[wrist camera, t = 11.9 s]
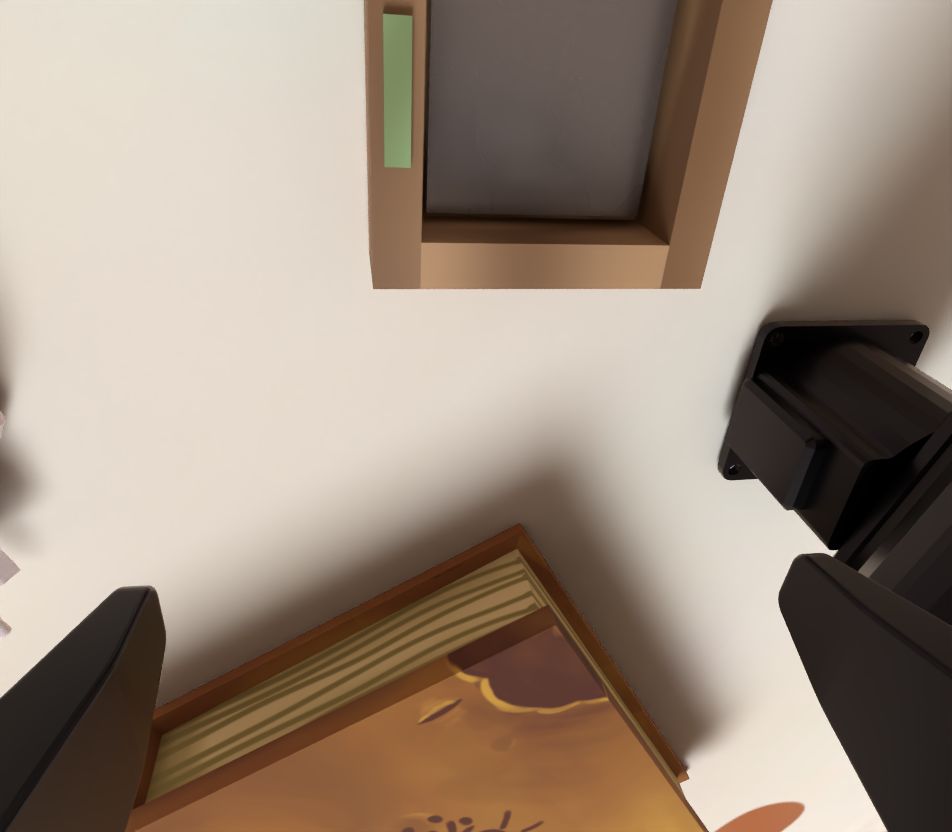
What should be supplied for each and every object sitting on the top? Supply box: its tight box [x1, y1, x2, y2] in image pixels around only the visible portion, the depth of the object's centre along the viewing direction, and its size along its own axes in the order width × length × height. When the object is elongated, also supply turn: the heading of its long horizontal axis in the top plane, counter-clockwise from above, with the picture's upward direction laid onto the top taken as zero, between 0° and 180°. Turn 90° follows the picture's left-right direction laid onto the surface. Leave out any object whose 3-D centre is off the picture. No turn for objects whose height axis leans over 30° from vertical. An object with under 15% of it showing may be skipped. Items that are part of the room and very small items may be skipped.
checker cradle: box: [364, 0, 773, 289], centre depth 16 cm, size 9×9×3 cm
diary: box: [125, 523, 709, 832], centre depth 31 cm, size 23×19×6 cm
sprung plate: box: [423, 0, 678, 217], centre depth 17 cm, size 6×6×1 cm
